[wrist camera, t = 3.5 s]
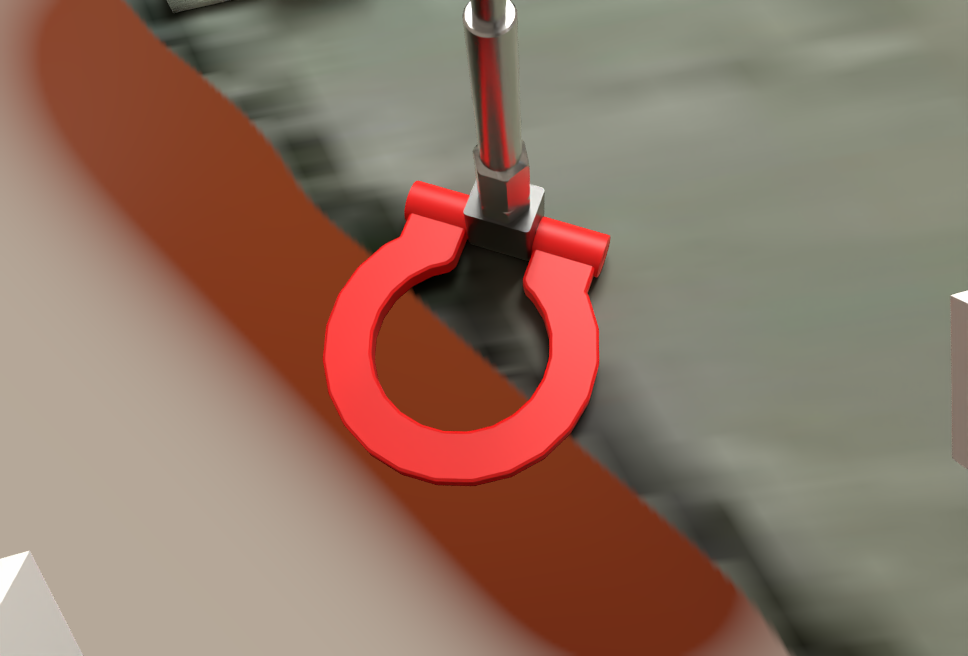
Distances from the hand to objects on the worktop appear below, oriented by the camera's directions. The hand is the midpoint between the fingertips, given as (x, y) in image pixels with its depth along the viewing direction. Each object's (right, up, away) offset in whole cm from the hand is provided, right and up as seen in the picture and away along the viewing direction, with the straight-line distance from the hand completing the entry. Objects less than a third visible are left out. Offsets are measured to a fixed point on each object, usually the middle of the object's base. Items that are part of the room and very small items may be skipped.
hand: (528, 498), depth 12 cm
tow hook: (-1, +2, +15) cm, 15 cm away
